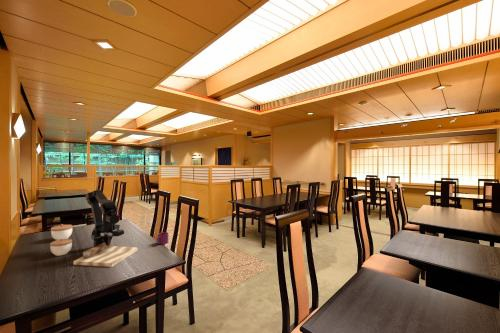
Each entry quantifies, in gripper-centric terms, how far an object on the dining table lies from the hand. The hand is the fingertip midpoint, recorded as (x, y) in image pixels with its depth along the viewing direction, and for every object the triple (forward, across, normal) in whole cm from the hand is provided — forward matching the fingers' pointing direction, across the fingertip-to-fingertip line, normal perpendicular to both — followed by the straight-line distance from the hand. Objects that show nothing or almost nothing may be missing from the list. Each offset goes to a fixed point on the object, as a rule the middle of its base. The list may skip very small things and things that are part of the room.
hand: (108, 245), depth 146 cm
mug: (+5, -26, -20) cm, 33 cm away
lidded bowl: (+4, +52, -17) cm, 55 cm away
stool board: (+4, -5, +7) cm, 10 cm away
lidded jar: (+4, +27, +7) cm, 28 cm away
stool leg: (+2, +2, +6) cm, 6 cm away
